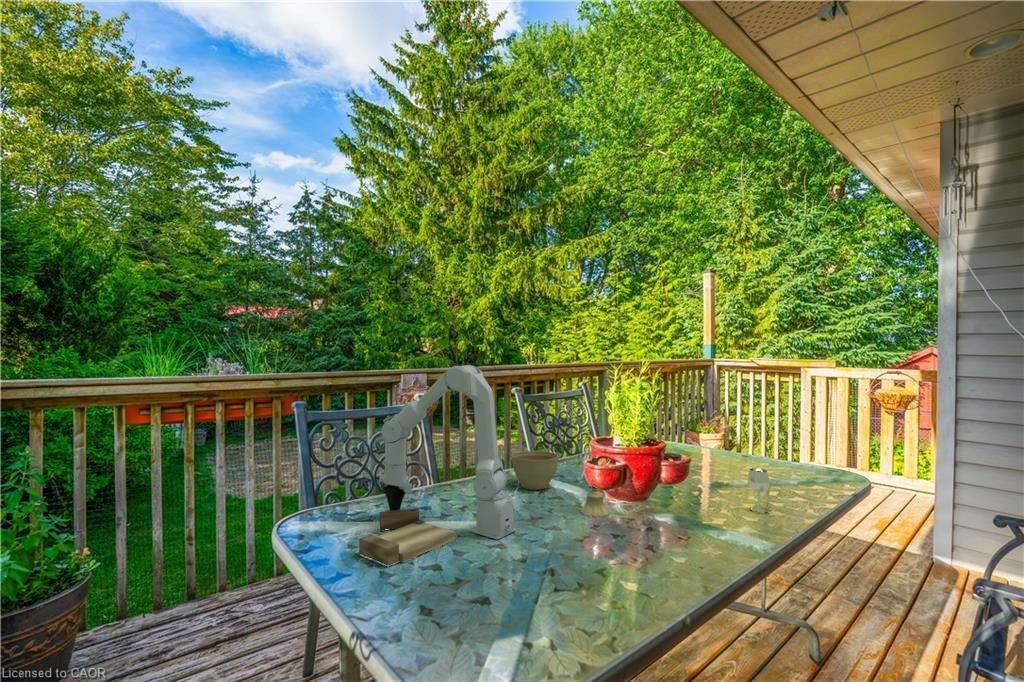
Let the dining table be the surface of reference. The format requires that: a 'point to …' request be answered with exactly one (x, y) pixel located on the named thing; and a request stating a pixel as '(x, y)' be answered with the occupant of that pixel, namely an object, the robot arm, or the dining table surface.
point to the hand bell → (594, 501)
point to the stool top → (405, 542)
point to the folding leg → (398, 518)
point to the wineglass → (758, 483)
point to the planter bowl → (534, 468)
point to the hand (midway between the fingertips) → (394, 512)
